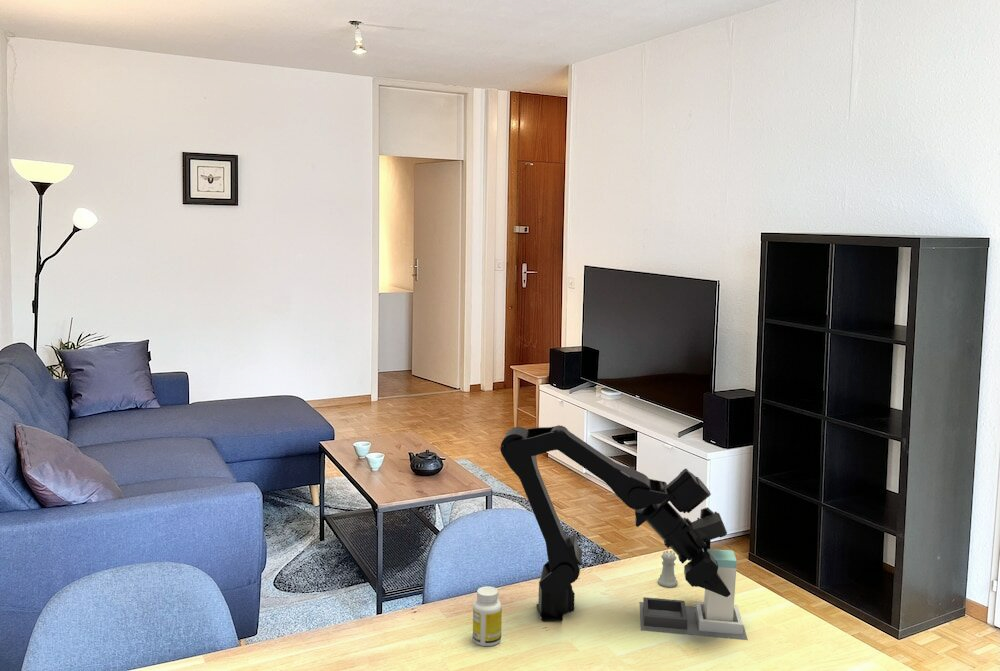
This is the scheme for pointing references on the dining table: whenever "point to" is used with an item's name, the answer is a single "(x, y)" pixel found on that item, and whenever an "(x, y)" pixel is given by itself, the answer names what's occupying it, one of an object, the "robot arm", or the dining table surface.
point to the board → (687, 619)
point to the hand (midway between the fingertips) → (725, 584)
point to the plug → (718, 604)
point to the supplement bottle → (487, 617)
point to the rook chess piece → (668, 570)
